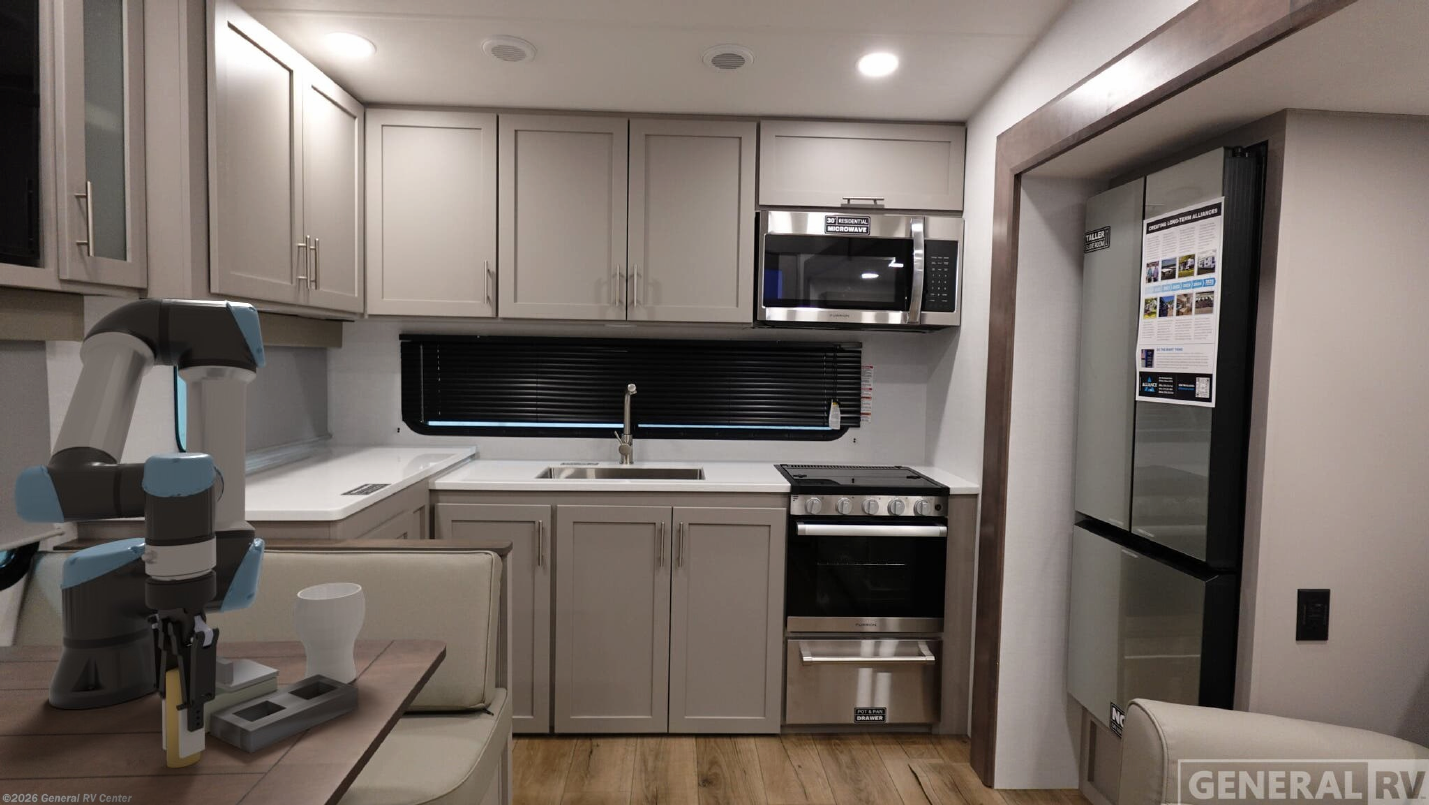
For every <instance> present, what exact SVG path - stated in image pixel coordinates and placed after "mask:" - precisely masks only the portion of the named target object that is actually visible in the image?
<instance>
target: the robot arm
mask: <svg viewBox="0 0 1429 805" xmlns="http://www.w3.org/2000/svg"><path fill="white" fill-rule="evenodd" d="M262 336H263V335H262V330H261V323H260V318H259V313H258V310H257V309H256V307H255V306H253V305H252V304H250V303H246V302H236V301H229V300H226V299H225V300H223V301H222V300H221V301H220V300H203V299H202V300H201V299H200V300H199V299H179V298H178V299H177V298H163V297H150V298H142V299H139V300H135V301H131V302H129V303H126V304H124V305H121V306H120V307H119V306H118V307H117V308H116V309H114V310H112V311H110V312H109V313H108V314H106V315H104V316H103V317H101V319H99V320H98V321H97V322H96V323H95V324H94V325H93V326H92V327H91V328H90V330H89V331H88V332H87V333H86V335H85V337H84V339H83V341H82V344H81V346H80V350H79V359H80V361H81V363H82V364H83V365H82V369H81V371H80V374H79V376H78V380H77V382H76V384H75V387H74V391H73V394H72V395H71V399H70V402H69V405H68V407H67V410H66V412H65V415H64V418H63V421H62V424H61V427H60V430H59V433H58V435H57V438H56V441H55V444H54V447H53V450H52V452H51V454H50V457H49V461H48V464H47V465H46V464H41V465H37V466H29V467H26V468H23V469H22V471H20V472H19V473H18V476H17V477H16V480H15V482H14V483H15V484H14V491H13V500H14V501H13V502H14V506H15V507H14V508H15V511H16V514H17V516H18V517H19V519H20V520H21V521H23V522H25V523H28V524H65V523H77V522H78V523H79V522H88V521H91V522H92V521H101V520H102V521H104V520H117V519H119V520H120V519H137V518H144V537H135V538H127V539H121V540H116V541H111V542H106V543H102V544H98V545H94V546H91V547H88V548H84V549H82V550H79V551H77V552H74V553H72V554H71V555H69V556H68V557H67V558H66V559H65V561H63V564H62V574H61V583H60V585H59V589H61V611H62V612H61V615H62V616H61V617H62V619H61V620H62V646H63V647H62V652H61V655H60V657H59V660H58V662H57V665H56V668H55V670H54V673H53V676H52V678H51V681H50V683H49V686H48V702H49V704H50V705H51V706H53V707H54V708H57V709H63V710H82V709H83V710H84V709H85V710H86V709H94V708H101V707H106V706H108V707H109V706H112V705H116V704H122V703H124V702H129V701H132V700H136V699H138V698H141V697H144V696H146V695H149V694H151V693H154V692H156V691H158V696H159V698H161V711H162V712H161V714H162V722H161V723H162V724H161V727H162V749H163V750H165V751H167V721H166V673H167V672H168V671H169V670H171V669H174V668H177V667H179V675H180V685H181V695H182V704H180V705H177V706H176V708H177V710H178V724H179V757H180V758H184V757H187V756H189V755H192V754H194V753H197V752H199V751H204V750H206V746H205V744H206V742H205V741H206V740H205V737H206V735H205V734H206V733H205V724H204V703H206V702H209V701H212V700H214V699H215V687H216V656H217V648H218V647H217V646H218V645H217V644H218V641H219V637H220V634H221V633H220V629H219V627H218V626H214V627H211V628H210V627H209V625H208V624H207V620H208V619H207V615H211V614H217V613H218V614H224V613H225V612H231V611H232V612H233V611H238V610H244V609H247V608H249V607H250V606H252V605H253V604H254V602H255V601H256V599H257V597H258V596H257V595H258V592H259V587H260V581H261V578H262V569H263V563H264V556H265V555H264V554H265V547H266V546H265V544H266V543H265V540H264V539H262V538H260V537H256V529H255V527H254V526H252V525H251V524H250V523H249V522H247V520H246V451H247V450H246V449H247V448H246V442H247V440H246V438H247V437H246V436H247V433H246V432H247V430H246V429H247V428H246V427H247V425H246V424H247V422H246V421H247V386H248V385H249V384H250V383H252V381H254V380H255V379H256V378H257V369H261V368H264V367H266V366H267V364H266V358H265V350H264V343H263V337H262ZM156 366H166V367H176V368H177V372H176V374H177V376H178V377H179V379H181V380H182V381H184V382H185V384H186V385H187V395H186V396H187V399H186V400H187V401H186V402H187V406H186V443H185V444H186V445H185V452H172V453H171V452H170V453H161V454H155V455H152V456H150V457H148V458H147V459H145V461H144V462H137V463H136V462H135V463H134V462H133V463H127V462H126V463H121V461H122V458H123V454H124V449H125V445H126V442H127V439H128V435H129V431H130V427H131V423H132V420H133V416H134V411H135V409H136V408H135V407H136V405H137V400H138V396H139V393H140V388H141V384H142V381H143V378H144V377H145V376H147V375H148V374H149V373H150V372H151V371H152V369H153V367H156Z"/></svg>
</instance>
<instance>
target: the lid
mask: <svg viewBox="0 0 1429 805" xmlns="http://www.w3.org/2000/svg"><path fill="white" fill-rule="evenodd" d="M279 674H280V673H279V669H276V668H273V667H271V666H267V665H264V664H261V663H258V662H256V661H253V660H251V659H247V658H243V659H240V660H238V661H233V660H229V659H227V658H225V657H221V656H219V655H216V687H219V688H221V689H224V690H226V691H229V692H233V691H236V690H239V689H242V688H244V687H247V686H250V685H253V684H256V683H259V682H262V681H265V680H267V679H270V678H273V677H279V676H280V675H279Z"/></svg>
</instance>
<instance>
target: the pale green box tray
mask: <svg viewBox="0 0 1429 805" xmlns="http://www.w3.org/2000/svg"><path fill="white" fill-rule="evenodd" d="M276 689H278V676H276V677H273V678H270V679H267V680H265V681H262V682H259V683H256V684H253V685H250V686H247V687H244V688H242V689H239V690H236V691H233V692H229V691H226V690H224V689H221V688H219V687H215V699H214V700H212V701H209V702H206V703H204V724H205V734H207V733H209V732H210V713H213V712H216V711H219V710H221V709H224V708H227V707H230V706H232V705H235V704H238V703H241V702H243V701H246V700H249V699H252V698H254V697H257V696H260V695H263V694H265V693H268V692H271V691H274V690H276Z"/></svg>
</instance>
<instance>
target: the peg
mask: <svg viewBox="0 0 1429 805" xmlns="http://www.w3.org/2000/svg"><path fill="white" fill-rule="evenodd" d="M180 704H182V695H181V685H180V675H179V667H177V668H174V669H171V670H169V671H168V672H167V673H166V721H167V750H166V765H167V767H168V768H173V769H175V768H176V769H177V768H184V767H188V766H190V765H193V764H195V763H197V762H198V761H199V760H201V756H202V755H201V754H202V752H201V751H199V752H197V753H194V754H192V755H189V756H187V757H184V758H180V757H179V724H178V710H177V708H176V706H177V705H180Z"/></svg>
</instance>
